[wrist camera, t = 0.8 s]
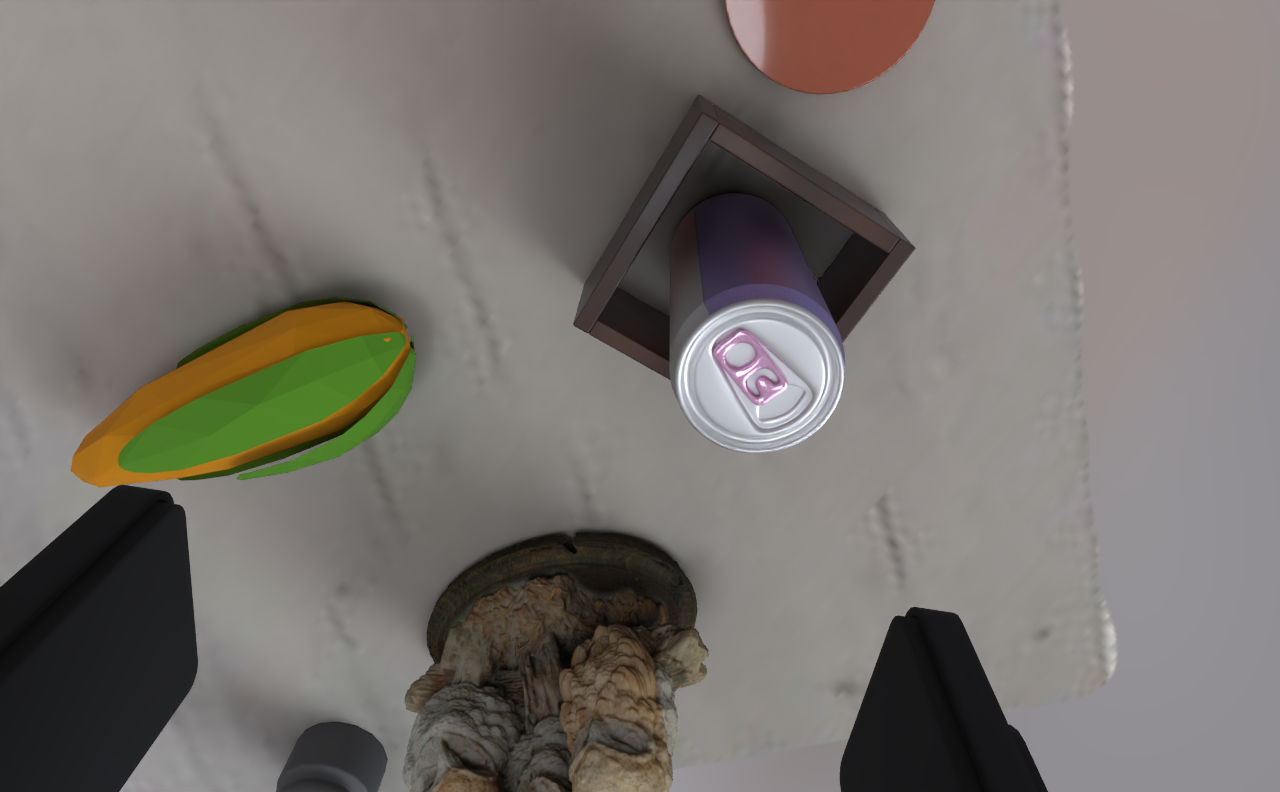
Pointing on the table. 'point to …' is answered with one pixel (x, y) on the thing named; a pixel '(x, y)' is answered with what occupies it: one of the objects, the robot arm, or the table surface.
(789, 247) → the beverage can
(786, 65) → the coaster
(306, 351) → the corn
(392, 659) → the table surface
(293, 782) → the candle holder
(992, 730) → the robot arm
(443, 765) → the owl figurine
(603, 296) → the caddy
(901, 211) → the table surface
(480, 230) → the table surface
